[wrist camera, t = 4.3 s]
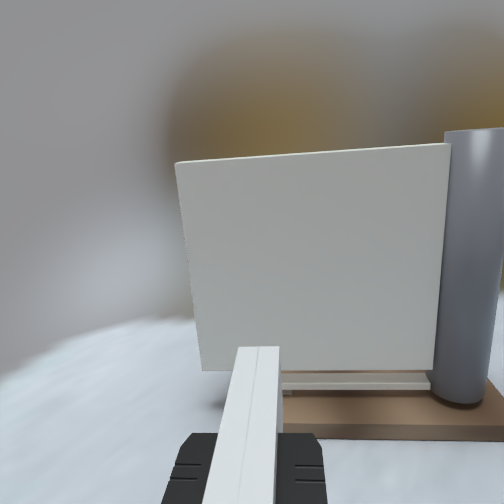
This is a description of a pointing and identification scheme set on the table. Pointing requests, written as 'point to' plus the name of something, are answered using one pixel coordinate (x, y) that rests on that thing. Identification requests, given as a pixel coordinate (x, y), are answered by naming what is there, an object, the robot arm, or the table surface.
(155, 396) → the table surface
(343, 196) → the white panel stand
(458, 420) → the board
